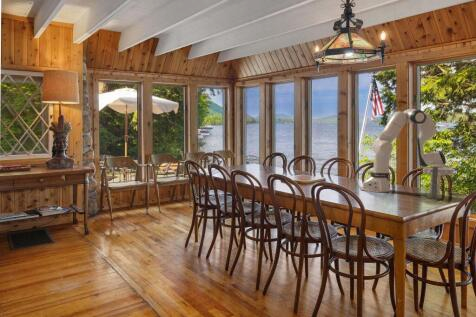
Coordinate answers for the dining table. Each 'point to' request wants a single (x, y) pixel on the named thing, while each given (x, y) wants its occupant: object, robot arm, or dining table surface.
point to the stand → (434, 185)
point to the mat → (425, 194)
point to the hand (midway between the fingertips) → (437, 172)
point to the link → (437, 185)
